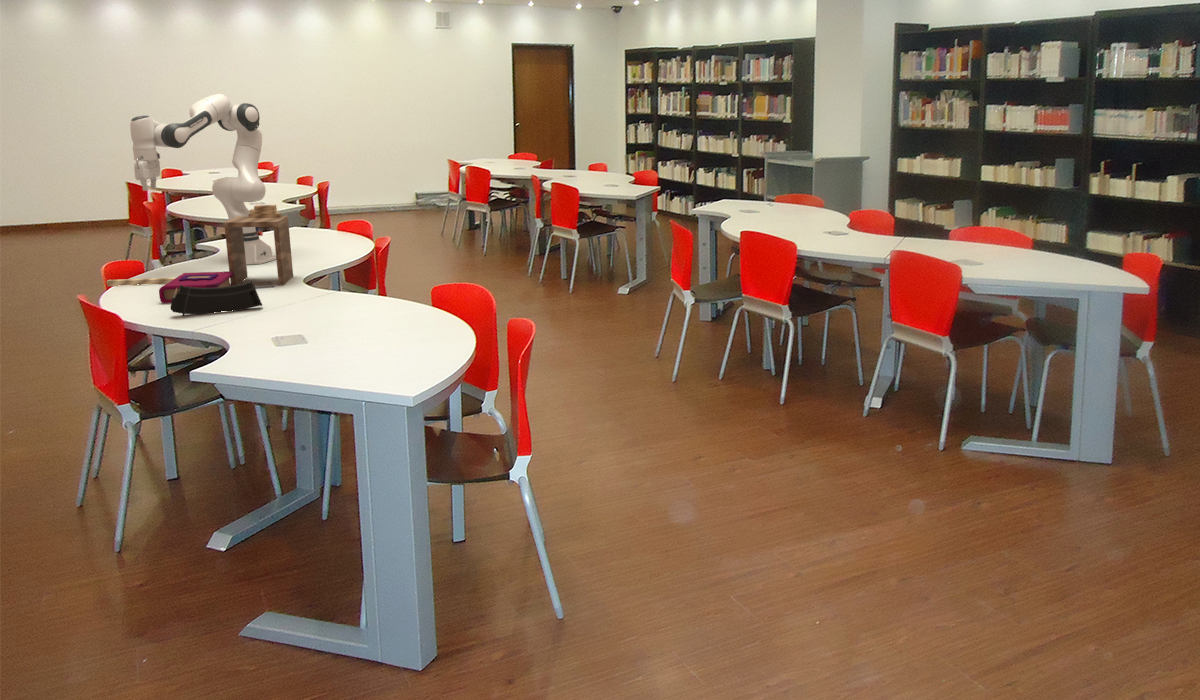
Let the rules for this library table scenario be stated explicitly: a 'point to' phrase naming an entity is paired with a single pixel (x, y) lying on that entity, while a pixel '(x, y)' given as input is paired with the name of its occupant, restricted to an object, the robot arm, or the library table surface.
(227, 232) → the rack
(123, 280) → the batten
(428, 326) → the library table surface
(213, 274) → the book
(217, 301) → the magazine
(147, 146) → the robot arm
